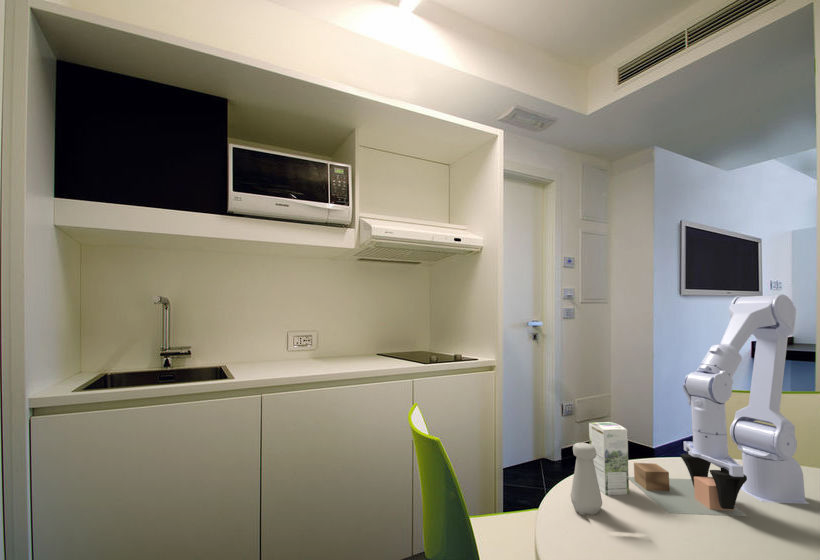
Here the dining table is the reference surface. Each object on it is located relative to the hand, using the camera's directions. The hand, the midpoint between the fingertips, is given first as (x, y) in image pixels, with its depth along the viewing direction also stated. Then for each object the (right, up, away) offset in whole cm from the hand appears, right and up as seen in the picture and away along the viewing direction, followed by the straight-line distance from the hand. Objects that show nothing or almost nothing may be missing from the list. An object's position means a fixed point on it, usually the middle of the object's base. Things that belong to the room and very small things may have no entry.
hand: (713, 499), depth 80 cm
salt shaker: (-27, -1, -2) cm, 27 cm away
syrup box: (-18, -2, +7) cm, 19 cm away
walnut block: (-7, -2, +8) cm, 11 cm away
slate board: (-4, -2, +4) cm, 6 cm away
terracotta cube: (0, -1, 0) cm, 1 cm away
